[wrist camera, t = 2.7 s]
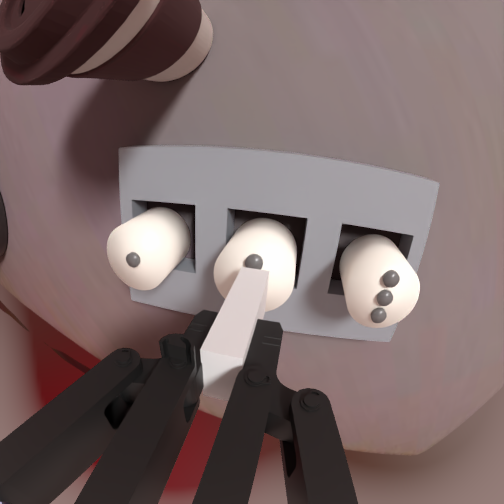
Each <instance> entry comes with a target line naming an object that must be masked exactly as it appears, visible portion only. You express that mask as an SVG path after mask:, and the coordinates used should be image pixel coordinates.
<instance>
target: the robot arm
mask: <svg viewBox="0 0 504 504" xmlns="http://www.w3.org/2000/svg"><path fill="white" fill-rule="evenodd" d="M6 246H7V223H6V216H5V210H4V206H3V201H2V198H1V194H0V256H1V255H3V254H4V252H5V250H6ZM269 273H270V271H266V270H260V269H253V268H247V267H242V268H241V270H240V272H239V274H238V276H237V277H236V279H235V281H234V283H233V285H232V287H231V289H230V291H229V293H228V295H227V297H226V299H225V301H224V303H223V305H222V307H221V309H220V311H219V312H214V311H209V310H202V311H201V312H199V313H198V314H196V315H195V317H194V318H193V320H192V322H191V324H190V325H189V326H188V329H187V330H186V331H185V333H184V335H183V334H169V335H167V336H165V337H163V338H162V339H161V340H160V341H159V344H160V350H161V355H162V358H159V359H144V358H140V356H139V354H138V353H137V352H136V351H135V350H132V349H130V348H122V349H117V350H116V351H114V352H112V353H111V354H110V355H108V356H107V357H106V358H104V359H103V360H102V361H101V362H99V363H98V364H97V365H96V366H94V367H93V368H92V369H91V370H89V371H88V372H87V373H85V374H84V375H83V376H82V377H80V378H79V379H78V380H77V381H75V382H74V383H73V384H72V385H70V386H69V387H68V388H67V389H65V390H64V391H63V392H62V393H60V394H59V395H58V396H57V397H55V398H54V399H53V400H52V401H50V402H49V403H48V404H47V405H45V406H44V407H43V408H42V409H40V410H39V411H38V412H37V413H35V414H34V415H33V416H32V417H30V418H29V419H28V420H27V421H25V422H24V423H23V424H22V425H20V426H19V427H18V428H17V429H15V430H14V431H13V432H12V433H11V434H10V435H8V436H7V437H6V438H4V439H3V440H2V441H1V442H0V504H50V503H51V502H52V501H53V500H54V499H55V498H56V497H57V496H59V495H60V494H61V493H62V492H63V491H64V490H65V489H66V488H67V487H69V486H70V485H71V484H72V483H73V482H74V481H75V480H76V479H77V478H78V477H79V476H80V475H81V474H82V473H83V472H84V471H86V470H87V469H88V468H89V467H90V466H91V465H92V463H94V462H95V461H96V460H97V459H98V458H99V457H100V456H101V455H102V454H103V455H102V456H101V459H100V460H99V462H98V463H97V465H96V467H95V469H94V470H93V472H92V474H91V475H90V477H89V479H88V480H87V482H86V484H85V486H84V488H83V489H82V491H81V493H80V495H79V496H78V498H77V500H76V502H75V503H74V504H158V502H159V500H160V497H161V495H162V493H163V490H164V488H165V486H166V483H167V481H168V479H169V476H170V474H171V472H172V469H173V467H174V465H175V462H176V460H177V458H178V455H179V453H180V450H181V448H182V446H183V443H184V441H185V438H186V436H187V434H188V431H189V429H190V427H191V424H192V422H193V419H194V417H195V415H196V412H197V410H198V407H199V403H200V398H199V396H200V394H201V392H202V389H203V395H204V396H208V397H213V398H217V399H221V400H225V401H228V404H227V407H226V410H225V413H224V416H223V418H222V421H221V424H220V427H219V430H218V433H217V436H216V439H215V442H214V445H213V447H212V450H211V453H210V456H209V459H208V462H207V465H206V467H205V470H204V473H203V476H202V478H201V481H200V484H199V487H198V489H197V492H196V495H195V498H194V500H193V503H192V504H248V500H249V497H250V493H251V489H252V485H253V481H254V476H255V472H256V468H257V464H258V459H259V455H260V451H261V446H262V442H263V437H264V432H265V433H267V434H269V435H271V436H273V437H275V438H278V439H279V440H280V448H281V455H282V463H283V471H284V478H285V485H286V493H287V501H288V504H358V502H357V497H356V493H355V490H354V486H353V482H352V478H351V474H350V471H349V468H348V463H347V460H346V456H345V452H344V449H343V445H342V442H341V438H340V435H339V431H338V428H337V424H336V421H335V417H334V414H333V411H332V407H331V404H330V401H329V399H328V397H327V396H326V395H325V394H324V393H323V392H321V391H319V390H316V389H310V388H306V389H302V390H299V391H298V392H296V391H294V390H291V389H289V388H287V387H285V386H284V385H283V384H282V383H280V381H279V380H278V378H277V375H276V370H277V364H278V358H279V352H280V346H281V340H282V334H283V329H282V327H281V324H280V322H274V321H268V320H263V317H264V314H265V306H266V298H267V290H268V281H269Z"/></svg>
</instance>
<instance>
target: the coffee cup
mask: <svg viewBox="0 0 504 504" xmlns="http://www.w3.org/2000/svg"><path fill="white" fill-rule="evenodd" d="M212 40H213V28H212V24H211V22H210V20H209V18H208V17H207V15H206V14H205V12H204V11H203V10H202V8H201V5H200V2H199V0H2V3H1V5H0V57H1V65H2V68H3V72H4V74H5V75H6V77H7V78H8V79H9V80H10V81H11V82H13V83H15V84H17V85H45V84H50V83H53V82H56V81H58V80H60V79H62V78H64V77H66V76H67V77H72V78H100V79H116V80H128V81H135V80H142V79H143V80H150V81H157V82H165V81H171V80H175V79H178V78H181V77H183V76H185V75H187V74H188V73H190V72H191V71H193V70H194V69H195V68H196V67H197V66H198V65H199V64H200V63H201V62H202V61H203V60H204V59H205V57H206V56H207V54H208V52H209V50H210V48H211V45H212Z"/></svg>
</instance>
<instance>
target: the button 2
mask: <svg viewBox="0 0 504 504" xmlns="http://www.w3.org/2000/svg"><path fill="white" fill-rule="evenodd" d="M296 257H297V245H296V241H295V238H294V236H293V234H292V233H291V232H290V230H289V229H288V228H287V227H286V226H284V225H283V224H282V223H280V222H278V221H276V220H273V219H269V218H256V219H252V220H249V221H247V222H245V223H244V224H242V225H241V226H240V227H239V228H238V229H237V231H236V232H235V233H234V235H233V236H232V238H231V239H230V240H229V242H228V243H227V245H226V246H225V248H224V249H223V250H222V252H221V253H220V255H219V256H218V258H217V260H216V262H215V266H214V280H215V284H216V287H217V289H218V291H219V292H220V294H221V295H222V296H223V297H224V299H226V297H227V295H228V293H229V291H230V289H231V287H232V285H233V283H234V281H235V279H236V277H237V276H238V274H239V272H240V270H241V268H242V267H247V268H253V269H260V270H266V271H270V273H269V281H268V290H267V298H266V306H265V312H267V311H271V310H274V309H276V308H278V307H279V306H281V305H282V304H283V303H284V302H286V300H287V299H288V298H289V296H290V295H291V293H292V290H293V287H294V280H295V269H296Z"/></svg>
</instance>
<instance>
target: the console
mask: <svg viewBox="0 0 504 504" xmlns="http://www.w3.org/2000/svg"><path fill="white" fill-rule="evenodd" d="M439 184H440V183H439V182H436V181H434V180H431V179H429V178H426V177H423V176H419V175H415V174H411V173H407V172H402V171H398V170H394V169H389V168H385V167H380V166H375V165H370V164H365V163H360V162H354V161H349V160H343V159H337V158H331V157H324V156H317V155H310V154H303V153H295V152H286V151H277V150H267V149H255V148H242V147H226V146H203V145H140V146H129V147H122V148H119V189H120V207H121V221H122V224H124V223H126V222H127V221H129V220H131V219H133V218H134V217H136V216H138V215H140V214H142V213H144V212H145V211H147V201H156V202H168V203H180V204H191V205H195V259H190V258H183V259H182V260H181V261H180V263H179V264H178V265H177V266H176V267H175V268H174V269H173V270H172V271H171V272H170V273H169V274H168V276H167V277H166V278H165V279H164V280H163V281H162V282H161V283H160V284H159V285H158V286H157V287H156V288H154V289H151V290H138V289H134V288H132V287H130V286H129V287H130V293H131V299H132V300H133V301H137V302H141V303H145V304H149V305H153V306H157V307H161V308H166V309H170V310H174V311H179V312H184V313H188V314H193V315H196V314H198V313H199V312H201V311H202V310H209V311H214V312H219V311H220V309H221V307H222V305H223V303H224V301H225V299H224V297H223V296H222V295H221V294H220V292H219V291H218V289H217V287H216V284H215V280H214V266H215V262H216V260H217V258H218V256H219V255H220V253H221V252H222V250H223V249H224V248H225V246H226V245H227V243H228V242H229V240H230V239H231V238H232V236H233V235H234V217H235V209H238V210H247V211H256V212H264V213H272V214H280V215H287V216H295V217H302V218H306V224H305V231H304V238H303V244H302V251H301V257H300V263H299V270H298V275H297V274H295V280H294V287H293V290H292V293H291V295H290V296H289V298H288V299H287V300H286V302H284V303H283V304H282V305H281V306H279V307H278V308H276V309H274V310H271V311H267V312H265V314H264V317H263V320H268V321H274V322H280V324H281V327H282V329H283V331H289V332H297V333H304V334H312V335H320V336H329V337H338V338H347V339H358V340H369V341H382V342H390V340H391V338H392V336H393V333H394V331H395V329H396V326H397V324H398V322H397V323H395V324H393V325H391V326H387V327H383V328H371V327H366V326H363V325H361V324H359V323H358V322H356V321H355V320H354V319H353V318H352V317H351V315H350V313H349V311H348V309H347V304H346V299H345V294H344V289H343V285H342V281H341V280H333V279H331V276H332V271H333V267H334V262H335V257H336V252H337V247H338V242H339V237H340V232H341V227H342V223H343V224H349V225H355V226H362V227H368V228H374V229H379V230H385V231H391V232H397V233H402V235H401V239H400V242H399V246H398V249H399V250H400V252H401V253H402V254H403V256H404V257H405V259H406V260H407V261H408V263H409V264H410V266H411V267H412V268H413V270H414V271H415V273H417V270H418V267H419V264H420V261H421V258H422V254H423V251H424V248H425V244H426V241H427V237H428V233H429V229H430V225H431V221H432V217H433V213H434V208H435V204H436V199H437V194H438V189H439Z"/></svg>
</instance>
